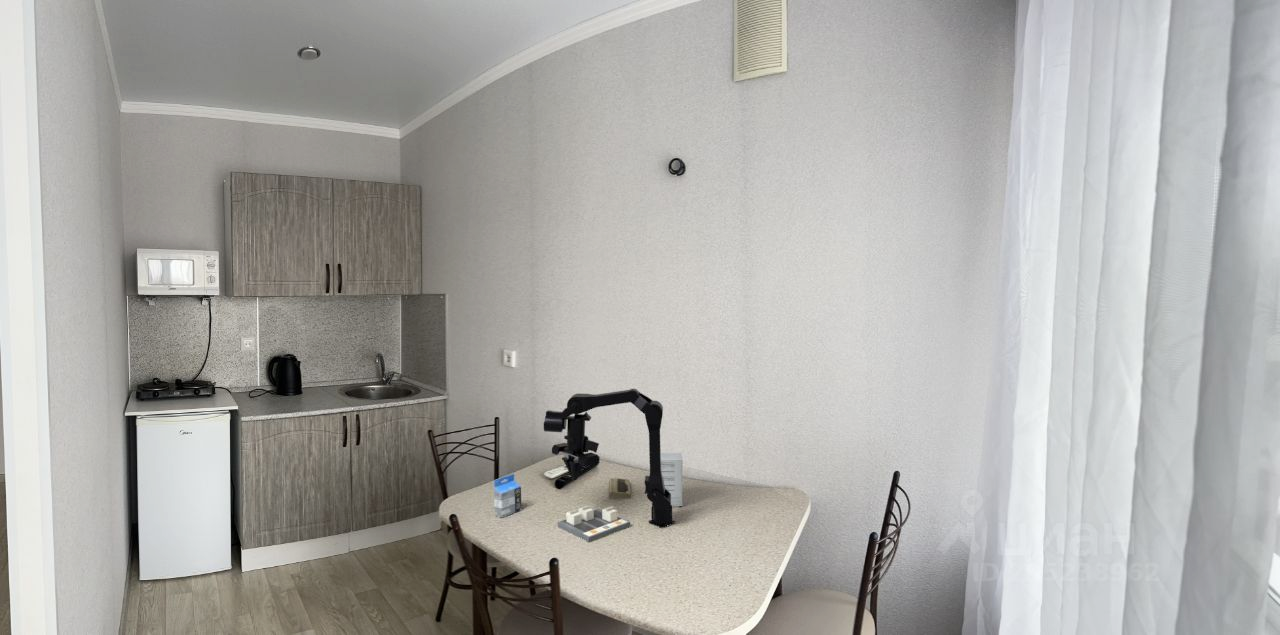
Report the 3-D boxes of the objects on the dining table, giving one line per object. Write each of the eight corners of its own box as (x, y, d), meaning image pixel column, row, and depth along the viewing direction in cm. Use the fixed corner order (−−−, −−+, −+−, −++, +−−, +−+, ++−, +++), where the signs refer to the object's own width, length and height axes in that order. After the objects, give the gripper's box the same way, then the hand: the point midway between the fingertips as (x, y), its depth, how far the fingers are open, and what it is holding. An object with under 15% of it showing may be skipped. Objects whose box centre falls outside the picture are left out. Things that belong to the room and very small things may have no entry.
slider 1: (581, 522, 188) (581, 511, 188) (574, 525, 186) (573, 513, 186) (573, 519, 191) (573, 507, 191) (566, 521, 189) (566, 510, 189)
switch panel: (630, 526, 189) (630, 521, 189) (588, 542, 177) (588, 536, 177) (598, 512, 201) (598, 507, 201) (557, 526, 189) (557, 521, 189)
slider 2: (617, 519, 191) (617, 508, 190) (610, 522, 189) (610, 510, 188) (609, 516, 194) (609, 504, 193) (602, 518, 191) (602, 507, 191)
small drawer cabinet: (682, 507, 206) (682, 460, 205) (656, 507, 206) (656, 460, 205) (681, 497, 215) (681, 452, 214) (656, 497, 215) (656, 452, 214)
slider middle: (593, 518, 192) (593, 507, 191) (586, 521, 189) (586, 509, 189) (586, 515, 194) (585, 503, 194) (578, 517, 192) (578, 506, 192)
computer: (631, 499, 214) (631, 490, 214) (609, 500, 214) (609, 491, 214) (629, 485, 230) (629, 476, 230) (609, 485, 230) (608, 477, 230)
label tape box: (501, 518, 196) (501, 482, 195) (493, 515, 198) (493, 479, 197) (522, 510, 203) (521, 475, 202) (514, 508, 205) (513, 473, 204)
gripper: (613, 435, 191) (611, 482, 192) (578, 424, 205) (576, 468, 205) (586, 440, 183) (584, 489, 184) (551, 428, 197) (550, 474, 198)
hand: (574, 479), depth 193 cm, fingers closed
